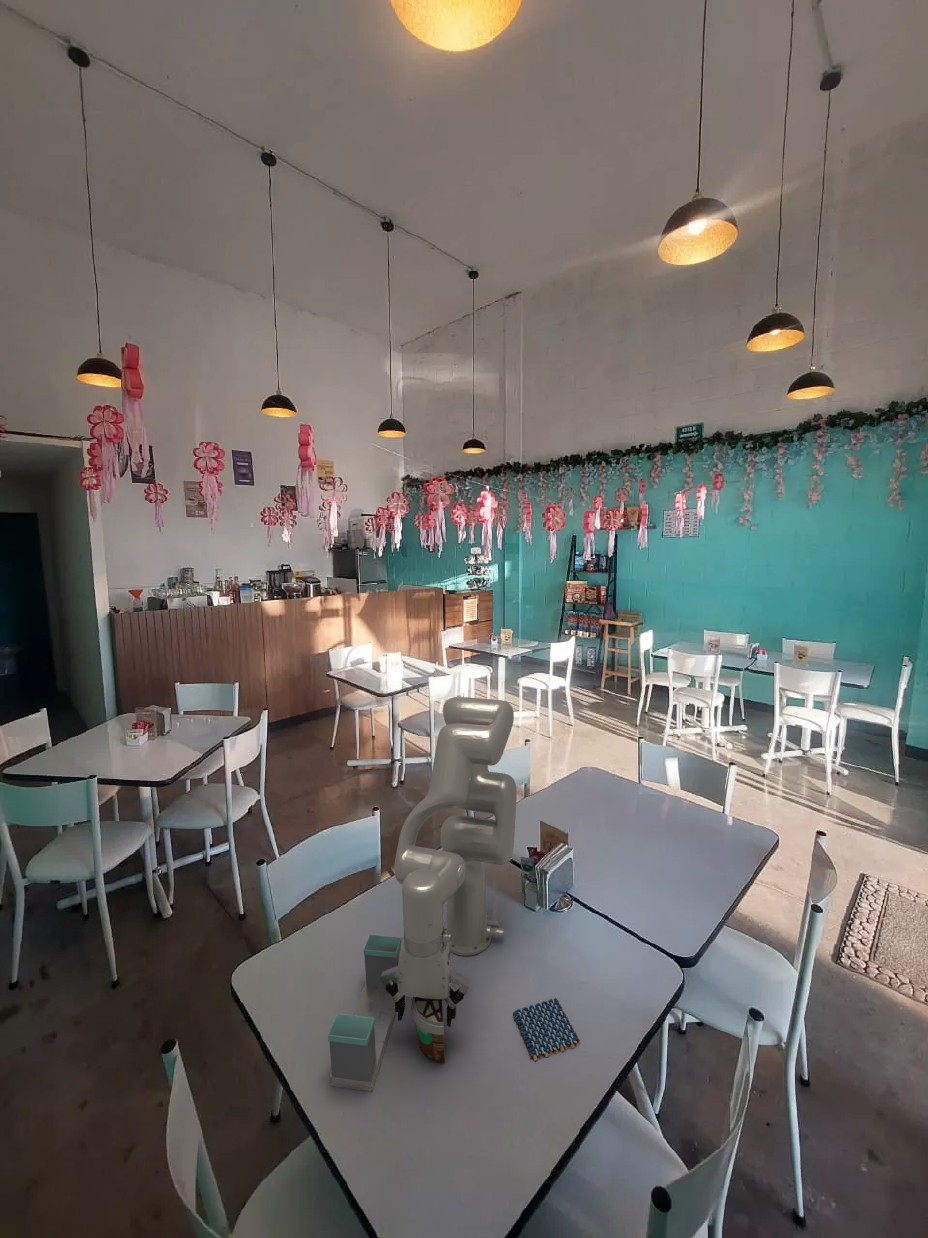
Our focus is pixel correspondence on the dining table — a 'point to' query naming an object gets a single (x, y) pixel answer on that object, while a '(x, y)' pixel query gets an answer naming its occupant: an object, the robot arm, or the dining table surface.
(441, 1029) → the food container
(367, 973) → the block
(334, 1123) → the dining table surface
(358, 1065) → the mounted module
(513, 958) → the dining table surface
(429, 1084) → the dining table surface
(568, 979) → the dining table surface
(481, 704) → the robot arm
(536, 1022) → the woven mat
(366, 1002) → the rail
